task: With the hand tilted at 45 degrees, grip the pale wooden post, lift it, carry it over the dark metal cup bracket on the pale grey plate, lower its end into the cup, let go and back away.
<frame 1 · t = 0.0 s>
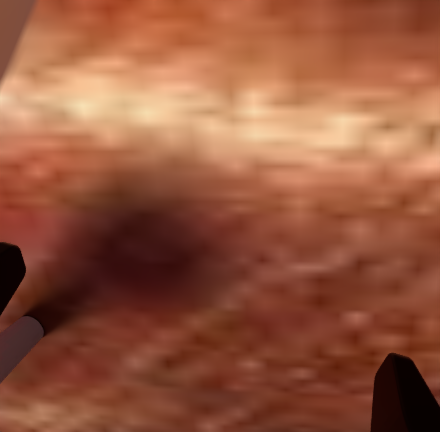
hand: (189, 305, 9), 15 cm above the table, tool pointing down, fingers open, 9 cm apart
novelty light stick: (33, 326, 33), on the table
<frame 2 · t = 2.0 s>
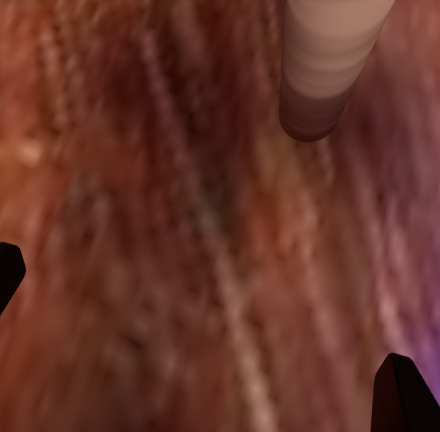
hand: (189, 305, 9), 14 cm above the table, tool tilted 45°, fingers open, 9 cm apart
wooden post: (308, 113, 23), on the table
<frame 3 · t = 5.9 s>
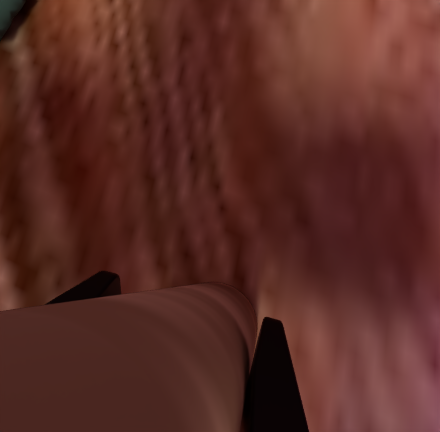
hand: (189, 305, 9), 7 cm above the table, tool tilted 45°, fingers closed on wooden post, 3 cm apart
wooden post: (213, 326, 15), on the table, touching gripper
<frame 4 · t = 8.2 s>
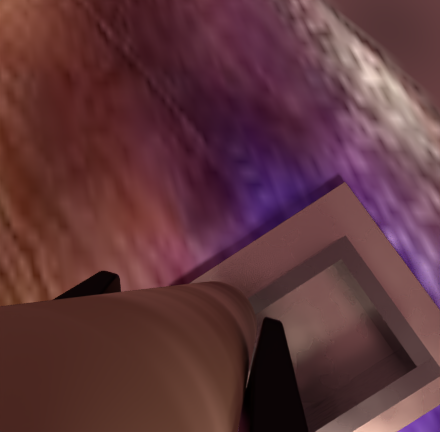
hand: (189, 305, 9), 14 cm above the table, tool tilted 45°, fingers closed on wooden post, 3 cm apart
cup bracket: (315, 331, 21), on the table
wooden post: (212, 325, 15), point 7 cm above the table, touching gripper
when the fingers open (9 cm above the table, at t = 10.5 s): wooden post drops 1 cm, resting on cup bracket.
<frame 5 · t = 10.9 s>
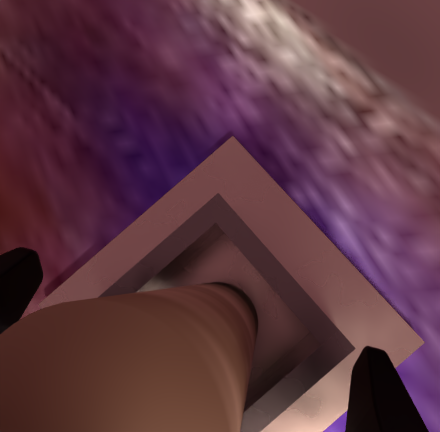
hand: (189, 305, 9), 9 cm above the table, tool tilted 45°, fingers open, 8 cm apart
cup bracket: (220, 320, 18), on the table
wooden post: (217, 322, 17), point 1 cm above the table, touching cup bracket
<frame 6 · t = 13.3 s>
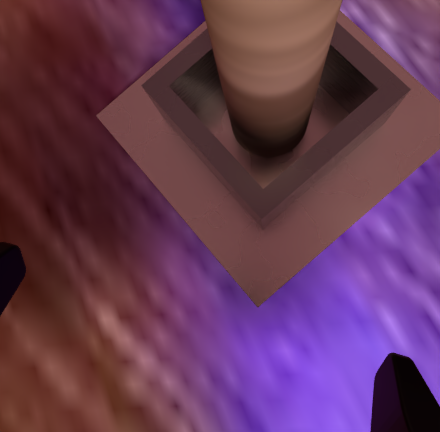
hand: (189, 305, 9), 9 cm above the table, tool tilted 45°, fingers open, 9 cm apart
cup bracket: (269, 126, 19), on the table
wooden post: (269, 120, 18), point 1 cm above the table, touching cup bracket
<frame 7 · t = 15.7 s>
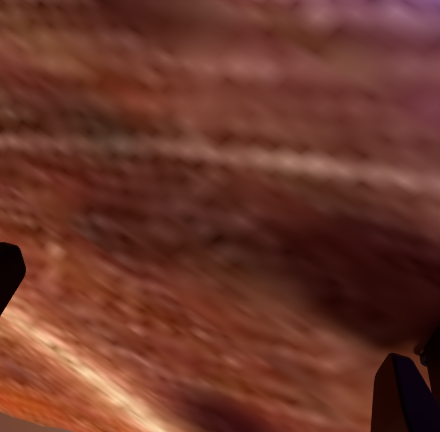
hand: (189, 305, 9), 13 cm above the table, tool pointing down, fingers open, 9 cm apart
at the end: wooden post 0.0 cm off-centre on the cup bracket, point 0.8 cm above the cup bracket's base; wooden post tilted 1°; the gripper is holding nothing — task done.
